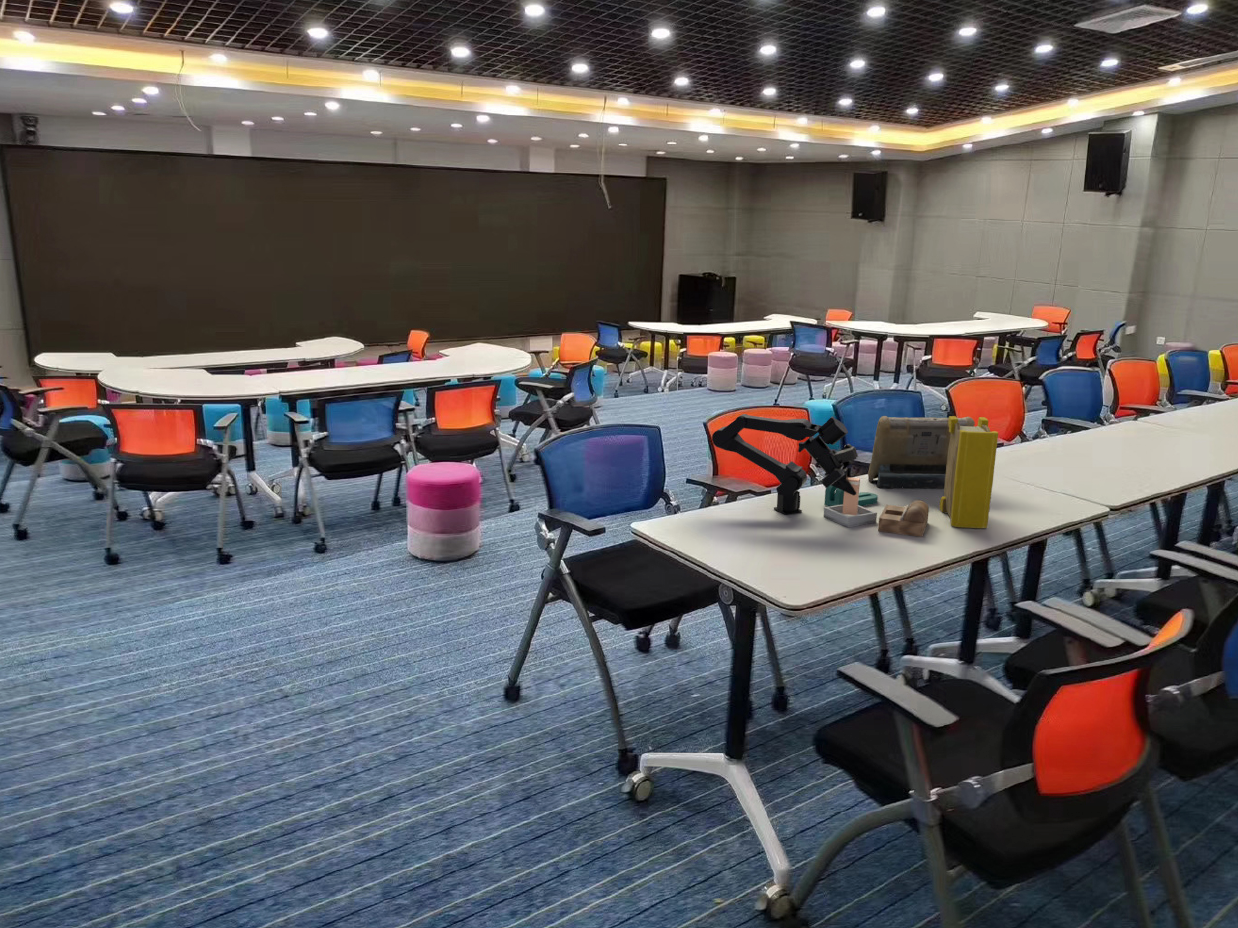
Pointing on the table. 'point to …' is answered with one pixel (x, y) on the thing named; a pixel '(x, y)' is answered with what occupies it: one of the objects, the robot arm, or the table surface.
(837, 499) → the bracket
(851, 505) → the peach block
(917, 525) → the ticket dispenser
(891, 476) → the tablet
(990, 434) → the decorative book
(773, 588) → the table surface
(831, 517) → the tray
